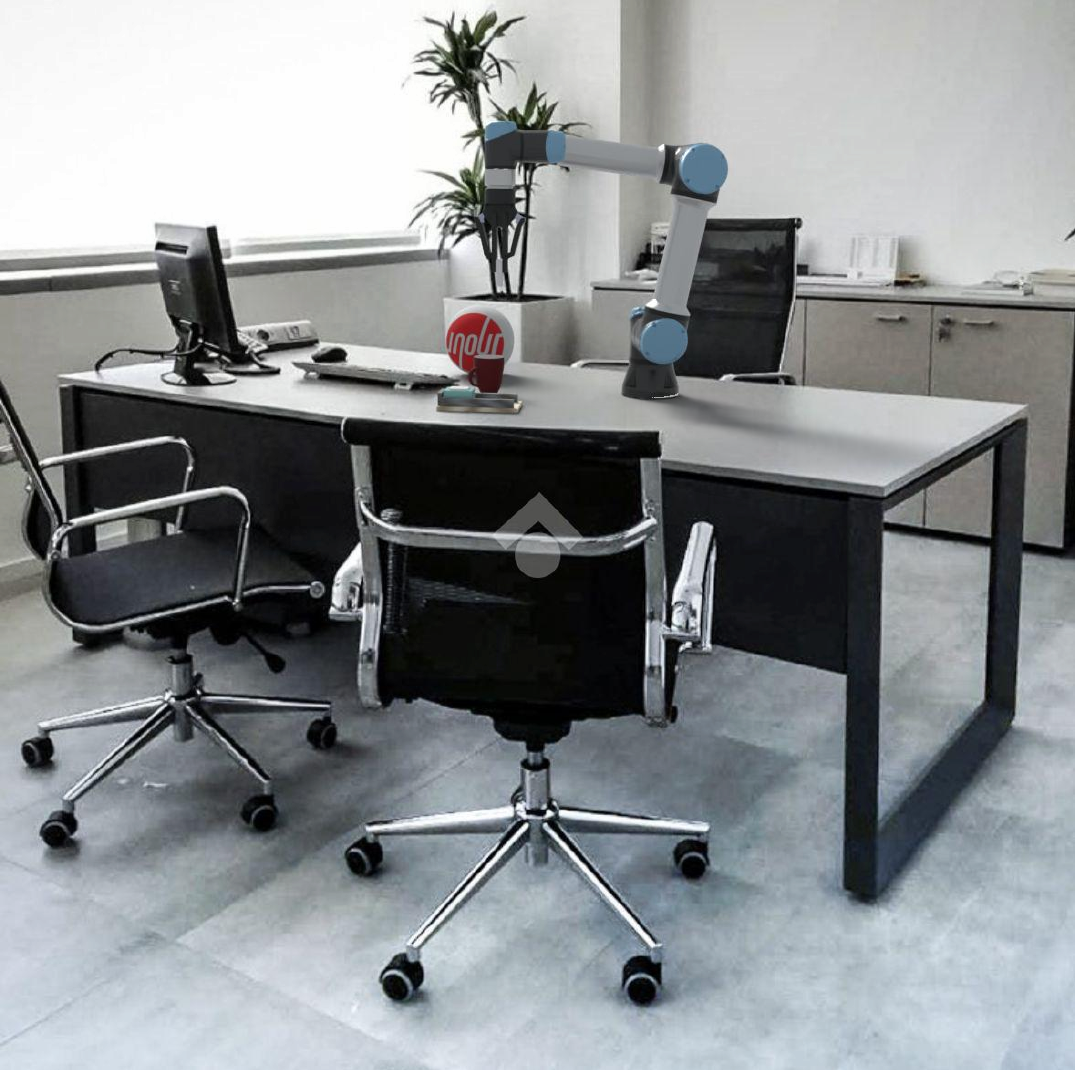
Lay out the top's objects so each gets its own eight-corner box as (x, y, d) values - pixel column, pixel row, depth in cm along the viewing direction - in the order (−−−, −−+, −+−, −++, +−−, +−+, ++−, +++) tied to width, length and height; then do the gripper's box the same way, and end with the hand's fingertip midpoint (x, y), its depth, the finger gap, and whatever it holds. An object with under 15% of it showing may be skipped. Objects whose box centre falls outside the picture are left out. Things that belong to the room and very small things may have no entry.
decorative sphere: (436, 378, 371) (435, 307, 366) (456, 368, 390) (455, 300, 385) (504, 382, 367) (505, 309, 362) (521, 371, 386) (521, 302, 380)
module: (475, 401, 331) (475, 385, 330) (471, 405, 325) (471, 389, 324) (447, 400, 331) (447, 384, 330) (443, 404, 326) (443, 388, 325)
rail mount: (521, 405, 333) (522, 389, 332) (517, 412, 322) (517, 396, 321) (443, 402, 334) (443, 387, 333) (436, 410, 324) (436, 394, 323)
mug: (481, 399, 340) (481, 360, 337) (460, 395, 345) (460, 357, 343) (510, 394, 348) (510, 356, 345) (489, 390, 353) (489, 353, 350)
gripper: (528, 187, 323) (527, 285, 330) (475, 186, 324) (475, 284, 331) (525, 188, 316) (524, 287, 322) (471, 187, 317) (471, 286, 324)
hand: (499, 285), depth 327 cm, fingers closed
